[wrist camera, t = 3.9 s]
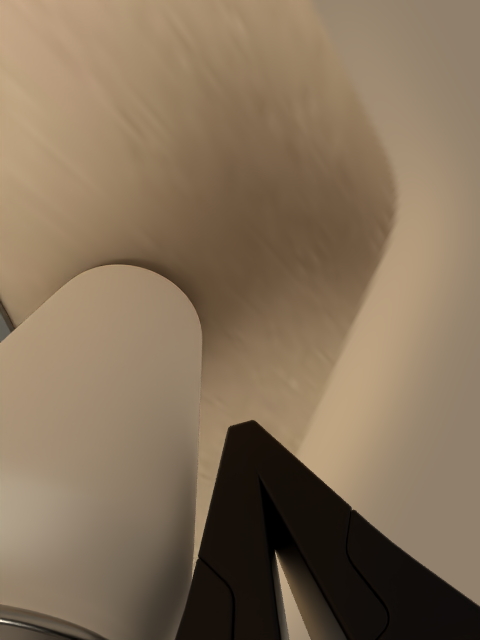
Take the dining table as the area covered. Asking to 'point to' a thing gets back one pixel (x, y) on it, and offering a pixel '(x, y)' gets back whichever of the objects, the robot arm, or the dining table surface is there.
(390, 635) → the robot arm
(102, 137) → the dining table surface
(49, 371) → the can
